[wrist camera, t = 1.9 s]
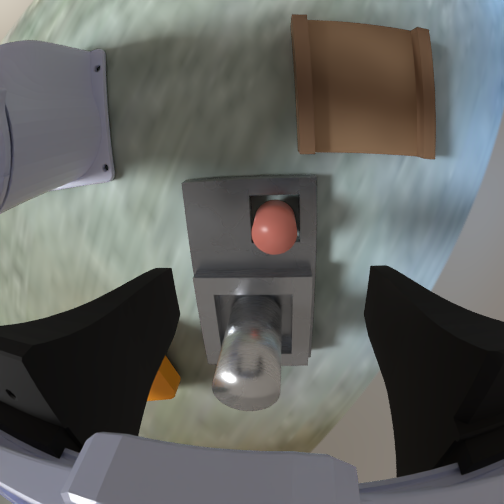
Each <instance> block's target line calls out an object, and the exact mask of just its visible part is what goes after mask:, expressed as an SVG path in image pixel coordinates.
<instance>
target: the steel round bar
mask: <svg viewBox="0 0 504 504" xmlns="http://www.w3.org/2000/svg"><path fill="white" fill-rule="evenodd" d="M281 340H282V313H281V310H280V308H279V306H278V305H277V303H276V302H275V301H273V300H272V299H270V298H269V297H266V296H263V295H247V296H244V297H242V298H240V299H238V300H237V301H236V302H235V303H234V305H233V306H232V309H231V312H230V316H229V320H228V324H227V328H226V332H225V335H224V339H223V343H222V347H221V351H220V355H219V359H218V363H217V367H216V371H215V375H214V379H213V382H212V390H213V393H214V395H215V396H216V398H217V399H218V400H219V401H221V402H222V403H223V404H225V405H227V406H229V407H231V408H234V409H238V410H243V411H257V410H262V409H265V408H268V407H270V406H271V405H273V404H274V403H275V402H276V401H277V400H278V398H279V396H280V383H281Z"/></svg>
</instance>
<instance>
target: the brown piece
mask: <svg viewBox="0 0 504 504" xmlns="http://www.w3.org/2000/svg"><path fill="white" fill-rule="evenodd" d="M291 37H292V50H293V64H294V79H295V97H296V117H297V141H298V152H299V153H300V154H315V152H341V153H372V154H392V155H407V156H417V157H421V158H424V159H435V142H436V111H435V86H434V72H433V60H432V51H431V42H430V35H429V30H428V29H424V28H419V27H416V28H414V29H413V30H411V31H408V30H403V29H397V28H391V27H385V26H378V25H370V24H361V23H351V22H338V21H319V20H307V15H292V17H291Z"/></svg>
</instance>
